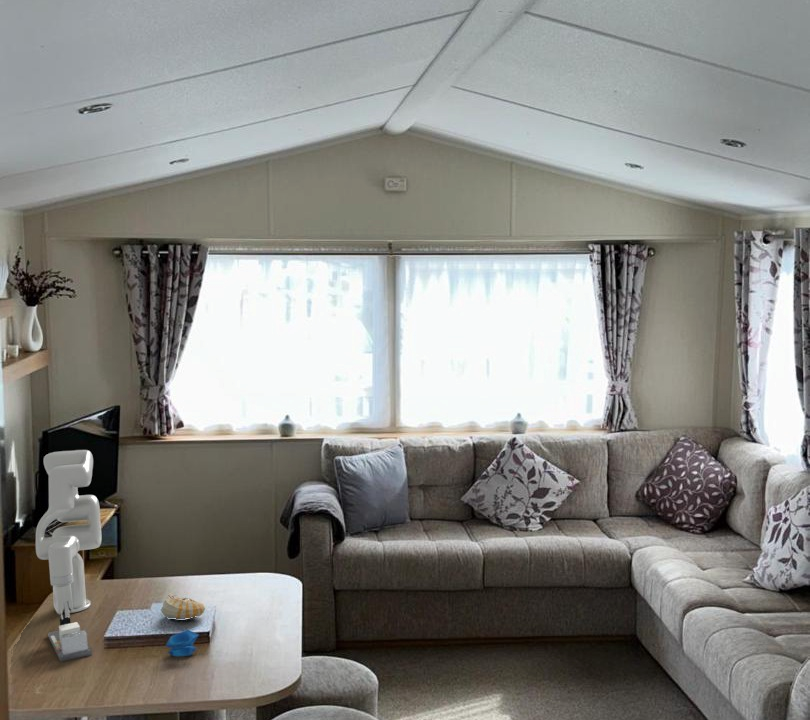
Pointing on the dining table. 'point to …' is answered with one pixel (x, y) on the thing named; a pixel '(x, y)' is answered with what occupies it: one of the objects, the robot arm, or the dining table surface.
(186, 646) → the blue double-lobed piece
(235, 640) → the dining table surface
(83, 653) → the gauge bench
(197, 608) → the nautilus
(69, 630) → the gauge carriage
